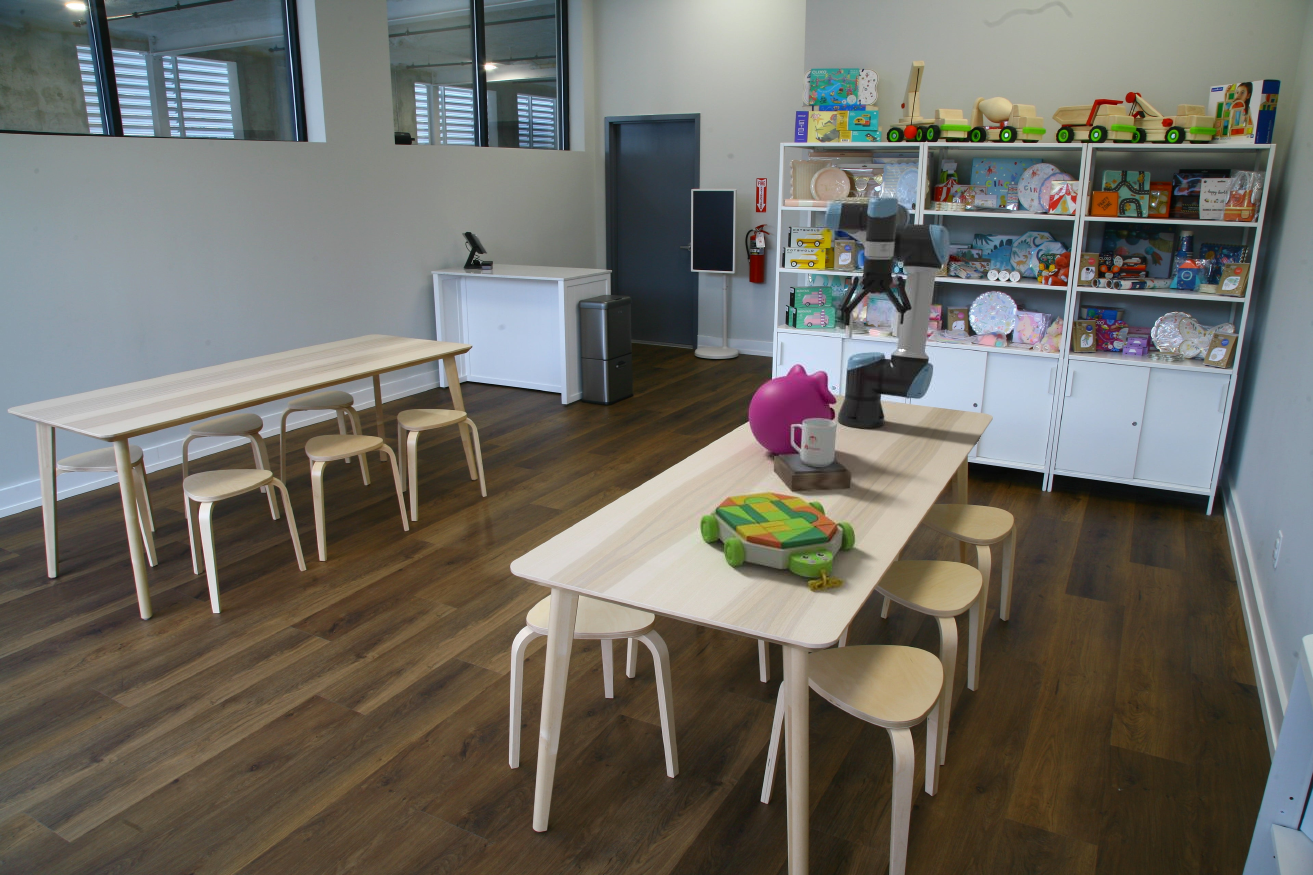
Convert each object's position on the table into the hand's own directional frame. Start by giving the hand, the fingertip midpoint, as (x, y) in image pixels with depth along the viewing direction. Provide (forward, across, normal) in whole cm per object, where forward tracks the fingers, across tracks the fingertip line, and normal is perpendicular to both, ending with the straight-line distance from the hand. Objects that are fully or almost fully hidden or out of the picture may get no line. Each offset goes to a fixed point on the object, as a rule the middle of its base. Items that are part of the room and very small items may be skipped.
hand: (872, 336), depth 233 cm
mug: (+31, -20, -12) cm, 39 cm away
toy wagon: (+36, -41, -52) cm, 76 cm away
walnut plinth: (+36, -19, -12) cm, 43 cm away
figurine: (+36, -18, +11) cm, 42 cm away
